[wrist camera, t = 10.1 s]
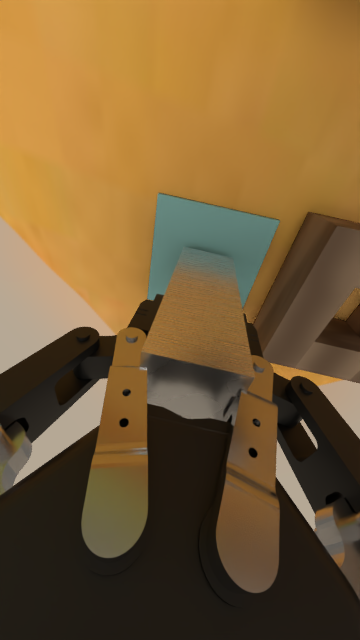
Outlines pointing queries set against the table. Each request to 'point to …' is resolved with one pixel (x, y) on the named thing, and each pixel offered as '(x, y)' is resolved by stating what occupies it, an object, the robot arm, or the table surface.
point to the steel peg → (198, 340)
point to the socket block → (315, 302)
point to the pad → (207, 239)
